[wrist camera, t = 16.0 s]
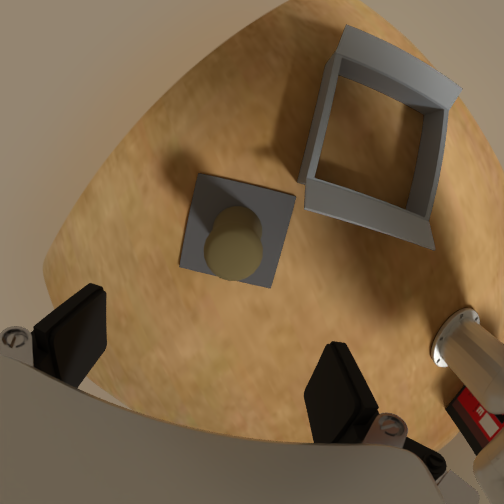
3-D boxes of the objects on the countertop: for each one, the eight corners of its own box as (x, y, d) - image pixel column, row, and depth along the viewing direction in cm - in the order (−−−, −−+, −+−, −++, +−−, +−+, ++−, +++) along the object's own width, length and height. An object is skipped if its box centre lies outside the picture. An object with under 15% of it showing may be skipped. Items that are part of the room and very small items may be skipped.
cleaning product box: (484, 355, 41) (531, 403, 22) (497, 359, 42) (539, 401, 23) (445, 409, 45) (479, 461, 26) (461, 408, 46) (494, 455, 27)
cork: (272, 231, 33) (284, 257, 22) (237, 264, 34) (232, 304, 24) (237, 195, 32) (231, 204, 21) (202, 230, 33) (181, 256, 22)
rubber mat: (295, 196, 32) (296, 196, 32) (270, 287, 35) (270, 288, 35) (198, 173, 32) (198, 173, 31) (180, 266, 34) (179, 266, 34)
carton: (430, 98, 28) (462, 87, 21) (402, 236, 34) (434, 251, 26) (328, 50, 27) (346, 23, 19) (291, 202, 33) (304, 209, 25)
